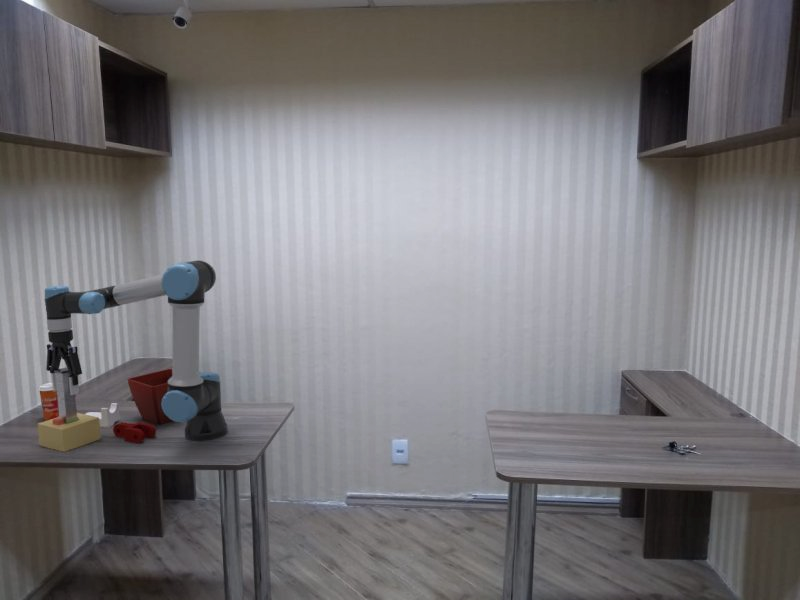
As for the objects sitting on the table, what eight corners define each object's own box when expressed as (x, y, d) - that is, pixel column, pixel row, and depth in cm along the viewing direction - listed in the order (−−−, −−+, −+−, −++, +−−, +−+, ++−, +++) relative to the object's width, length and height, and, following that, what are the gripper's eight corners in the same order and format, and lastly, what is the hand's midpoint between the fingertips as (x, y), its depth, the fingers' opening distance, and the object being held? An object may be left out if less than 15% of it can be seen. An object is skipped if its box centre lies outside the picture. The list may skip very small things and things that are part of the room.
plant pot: (155, 429, 229) (152, 386, 226) (129, 419, 240) (126, 378, 238) (199, 415, 244) (196, 375, 241) (172, 407, 255) (170, 368, 253)
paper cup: (37, 422, 238) (33, 387, 236) (47, 415, 246) (44, 382, 244) (57, 421, 238) (54, 387, 237) (67, 415, 246) (64, 382, 244)
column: (79, 425, 216) (74, 368, 214) (67, 429, 212) (61, 371, 210) (71, 423, 219) (66, 367, 216) (58, 427, 215) (53, 370, 212)
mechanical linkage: (156, 437, 220) (155, 424, 219) (141, 444, 214) (140, 431, 213) (124, 432, 226) (123, 419, 226) (108, 438, 220) (107, 425, 219)
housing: (100, 438, 219) (98, 413, 218) (64, 452, 207) (61, 425, 206) (76, 432, 226) (74, 408, 224) (39, 445, 214) (36, 419, 212)
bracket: (119, 421, 238) (118, 403, 237) (108, 428, 231) (107, 409, 230) (89, 420, 240) (88, 402, 239) (77, 426, 233) (76, 407, 232)
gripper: (90, 330, 209) (95, 393, 212) (51, 325, 219) (57, 385, 222) (69, 334, 202) (75, 399, 205) (30, 329, 213) (36, 391, 216)
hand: (65, 392), depth 214 cm, fingers open, 9 cm apart
